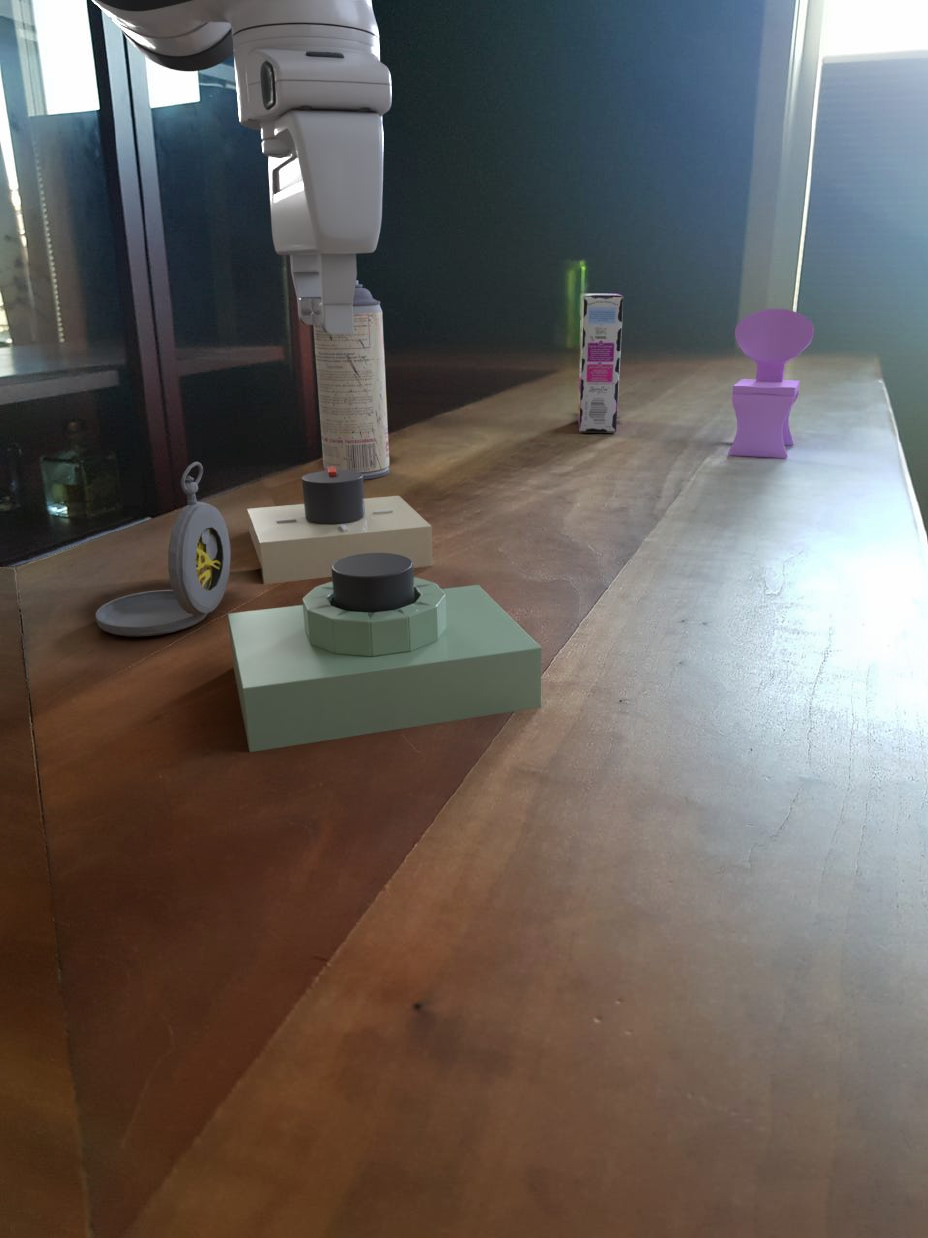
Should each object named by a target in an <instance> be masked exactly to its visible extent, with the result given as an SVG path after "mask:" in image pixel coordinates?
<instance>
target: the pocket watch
mask: <svg viewBox="0 0 928 1238" xmlns="http://www.w3.org/2000/svg"><path fill="white" fill-rule="evenodd" d="M196 466H197V467H198V475H197V477H196V479H195V478H194V477H192V476H191V475H188V474H189V473H190V471H191V470H192V469H193V468H195V467H196ZM203 473H204V467H203V465H202V463H201V462H199V461H194V462H192V463H191V464H189V465H188V466H187V467H186V468H185V470H184V472H183V474H182V476H181V479H180V486H181V489H182V492H183V493H184V494H185V495H187V496H186V497H187V502H186V503H187V505H185V506H184V507H183V508H182V509H181V511H179V514H178V516H177V517H176V520H175V522H174V525H173V526H172V527H173V528H172V530H171V533H170V539H169V544H168V549H167V556H168V557H167V559H168V561H167V562H168V575H169V581H170V586H171V589H161V590H150V591H143V592H138V593H137V592H136V593H132V594H128V595H125V596H121V597H118V598H115V599H113V600H110V601H108V602H106V603H104V604H102V605H101V606H100V607H99V608H97V610H96V611H95V620H96V621H95V622H96V624H97V626H98V627H99V628H100V629H101V630H103V631H104V632H106V633H109V634H112V635H114V636H115V635H116V636H122V637H133V638H134V637H135V638H139V637H149V636H150V637H151V636H153V637H154V636H161V635H165V634H167V635H168V634H170V633H176V632H179V631H182V630H185V629H188V628H190V627H193V626H195V625H197V624H198V623H200V622H202V621H204V619H206V617H207V616H208V614H209V613H212V612H213V611H214V610H215V609H217V607H218V606H219V605H220V603H221V601H222V599H223V598H224V596H225V592H226V589H227V586H228V582H229V577H230V570H231V543H230V537H229V536H230V535H229V530H228V528H227V524H226V522H225V519H224V517H223V515H222V513H221V512H220V511H219V509H218V508H217V507H215V506H214V505H212V504H209V503H207V502H203V501H198V499H197V496H196V493H197V492H198V491H199V485H198V484H200V481H201V480H202V478H203ZM205 568H206V570H205ZM201 570H202V571H203V573H201ZM202 579H203V581H202V582H201V580H202Z"/></svg>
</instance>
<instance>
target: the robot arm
mask: <svg viewBox="0 0 928 1238" xmlns="http://www.w3.org/2000/svg"><path fill="white" fill-rule="evenodd" d="M91 1H92V2H93V3H94V4H95V5H96V6H98V8H99V9H100V10H101V11H102V12H103V13H104V14H105V15H106V16H107V17H108V18H109V19H111V20H112V22H114V24H116V25H117V26H118V28H119V29H120V31H121V32H122V34H123V35H124V36H125V38H126V39H127V40H128V41H129V43H130V44H131V45H132V46H133V47H134V48H135V49H136V50H137V51H138V52H139V53H140V54H142V55H143V56H144V57H146V58H147V59H148V60H150V61H152V62H153V63H155V64H157V65H159V66H162V67H163V68H167V69H169V70H174V71H179V72H191V73H192V72H200V71H204V70H208V69H211V68H214V67H216V66H218V65H221V64H222V63H224V62H225V61H227V60H228V59H229V58H230V57H232V56H233V60H234V62H233V63H234V71H235V72H234V73H235V84H236V93H237V94H236V97H237V108H238V118H239V119H238V120H239V123H240V125H241V126H243V127H245V128H246V129H251V130H256V131H260V134H261V135H260V136H261V141H262V142H261V149H262V154H263V155H264V156H265V157H267V158H268V184H269V185H268V186H269V205H270V221H271V235H272V242H273V247H274V251H275V253H276V254H277V255H279V256H289V262H290V263H289V264H290V273H291V277H292V283H293V287H294V291H295V296H296V301H297V302H296V303H297V314H298V320H299V321H300V323H301V324H303V325H307V326H313V325H319V324H321V327H322V329H323V330H324V331H325V332H327V333H329V334H348V333H350V332H351V331H352V330H353V327H354V325H353V299H354V291H355V284H356V280H357V276H358V271H357V254H371V253H374V252H375V251H376V249H377V246H378V243H379V238H380V234H381V227H382V218H383V190H384V189H383V188H384V187H383V186H384V184H383V183H384V127H383V126H384V125H383V115H385V114H387V112H389V111H390V110H391V107H392V100H393V99H392V98H393V95H392V94H393V93H392V75H391V72H390V70H389V68H388V66H387V65H386V64H384V63H383V62H381V49H380V47H381V46H380V34H379V27H378V23H377V21H376V16H375V13H374V9H373V3H372V1H373V0H91Z"/></svg>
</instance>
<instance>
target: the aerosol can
mask: <svg viewBox="0 0 928 1238" xmlns="http://www.w3.org/2000/svg"><path fill="white" fill-rule="evenodd" d="M383 318H384V317H383V309H382V308H381V301H380V300H377V299H375V298H373V295H372V294H371V291H370V290H369V289H367V288H366V287H363V284H361V283H359V280H357V279H356V284H355V291H354V299H353V325H354V327H353V330H352V331H351V332H350V333H348V334H329V333H327V332H325V331H324V330H323V329H322V327H321V324H319V325H312V326H313V338H314V340H313V341H314V354H315V365H316V366H315V367H316V380H317V381H316V382H317V394H318V407H319V409H318V410H319V421H320V435H321V448H322V449H321V450H322V451H321V452H322V464H323V465H322V466H323V468H324V470H323V471H328V468H327V467H328V466H335V469H336V470H349V471H356V472H359V473H361V474H363V481H364V480H372V479H378V478H382V477H385V476H387V475H390V472H391V470H390V469H391V468H390V448H389V429H388V428H389V426H388V425H389V423H388V408H387V407H388V405H387V404H388V403H387V385H386V363H385V341H384V321H383V320H384V319H383Z"/></svg>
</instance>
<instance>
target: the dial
mask: <svg viewBox="0 0 928 1238" xmlns="http://www.w3.org/2000/svg"><path fill="white" fill-rule="evenodd" d="M327 468H328V471H324V470H320V471H314V472H310V473H307V474H305V475H303V476H302V477H301V483H302V495H303V496H302V497H303V504H304V509H305V518H306V520H308V521H310V522H314V523H320V524H339V523H348V522H353V521H356V520H359V519H362V518H363V517H364V516H365V501H364V499H365V485H364V480H363V474H361V473H359V472H356V471H349V470H336V469H335V466H328V467H327Z"/></svg>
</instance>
